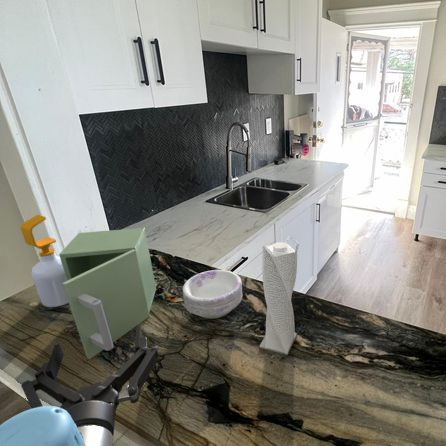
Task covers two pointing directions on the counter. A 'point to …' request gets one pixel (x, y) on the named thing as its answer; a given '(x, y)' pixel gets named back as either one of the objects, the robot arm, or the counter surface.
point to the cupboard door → (107, 302)
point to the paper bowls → (212, 293)
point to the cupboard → (109, 254)
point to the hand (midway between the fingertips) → (100, 339)
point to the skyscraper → (279, 295)
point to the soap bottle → (46, 267)
